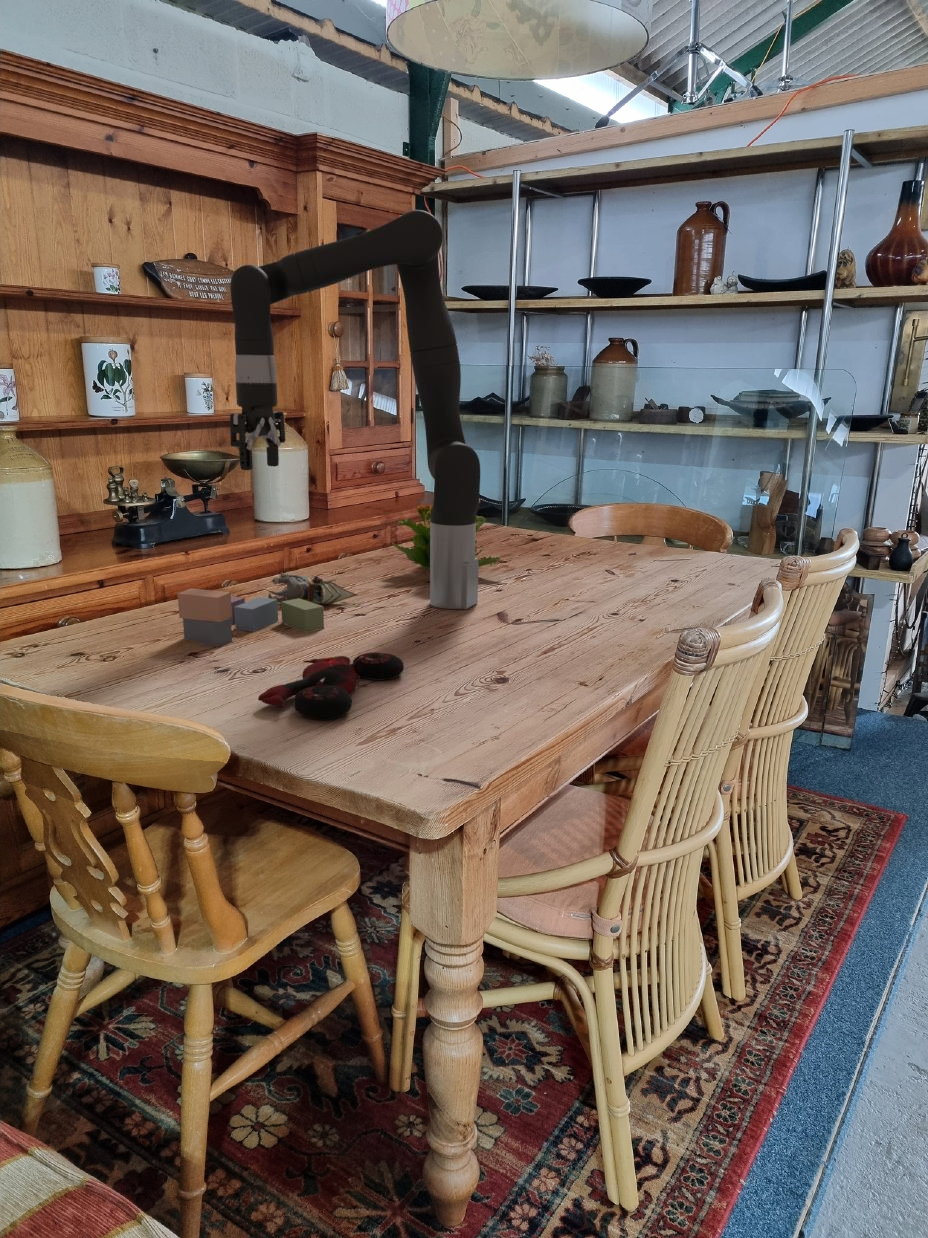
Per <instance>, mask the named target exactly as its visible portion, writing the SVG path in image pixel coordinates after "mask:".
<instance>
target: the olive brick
mask: <svg viewBox="0 0 928 1238" xmlns="http://www.w3.org/2000/svg"><path fill="white" fill-rule="evenodd" d="M280 604H281V606H280V607H281V624H284V625H286V626H288V627H291V628H294V629H296V630H299V631H301V632H304V633H309V632H314V631H318V630H323V629H325V622H324V621H325V619H324V618H325V616H324V615H325V614H324V606H323V605H322V604H316V603H314V602H309V601H306V600H303V599H300V598H298V599H293V600H287V601H282V602H281V603H280Z"/></svg>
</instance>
